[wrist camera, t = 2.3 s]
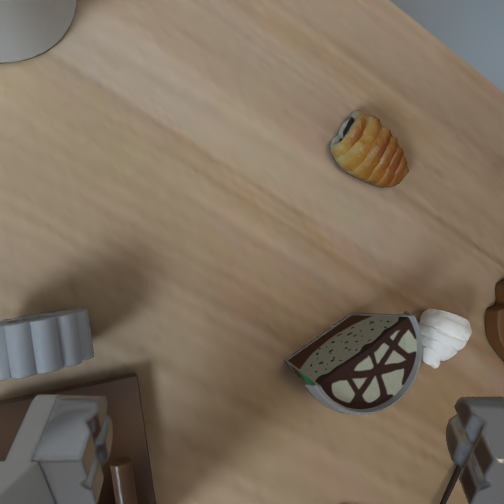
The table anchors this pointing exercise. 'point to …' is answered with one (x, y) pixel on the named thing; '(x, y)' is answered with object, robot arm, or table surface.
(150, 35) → the table surface
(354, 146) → the pastry
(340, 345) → the halved ice cream tub
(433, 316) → the white cream swirl
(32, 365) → the grey knurled ring
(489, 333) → the plant
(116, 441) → the stand
